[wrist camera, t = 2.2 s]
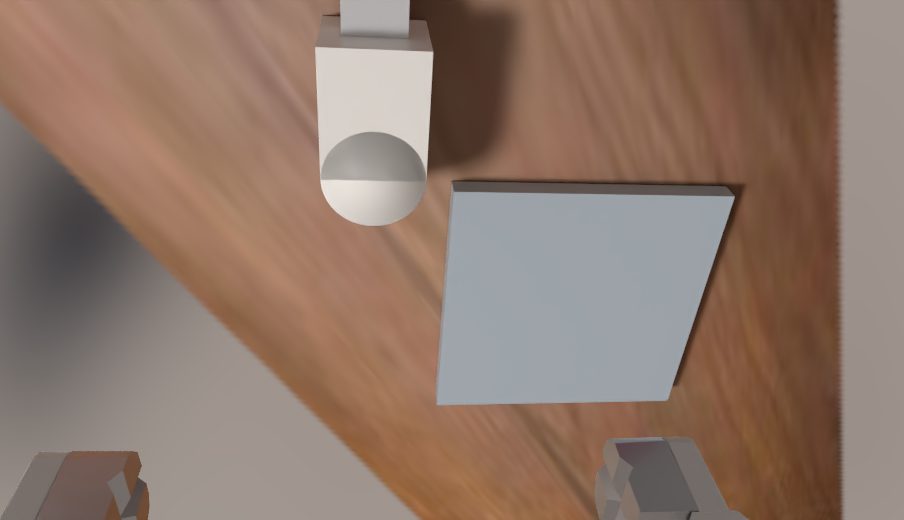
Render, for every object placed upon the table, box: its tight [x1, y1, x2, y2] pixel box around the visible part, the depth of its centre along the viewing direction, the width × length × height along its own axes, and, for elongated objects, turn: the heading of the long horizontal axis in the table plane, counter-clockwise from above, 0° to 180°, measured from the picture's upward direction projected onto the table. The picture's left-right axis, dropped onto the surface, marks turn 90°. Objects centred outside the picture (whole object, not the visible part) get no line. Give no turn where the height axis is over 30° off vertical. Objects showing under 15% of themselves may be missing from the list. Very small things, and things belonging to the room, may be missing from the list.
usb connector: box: [315, 0, 433, 226], centre depth 27 cm, size 9×4×4 cm, turn 176°
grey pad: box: [436, 181, 735, 405], centre depth 35 cm, size 13×13×1 cm
